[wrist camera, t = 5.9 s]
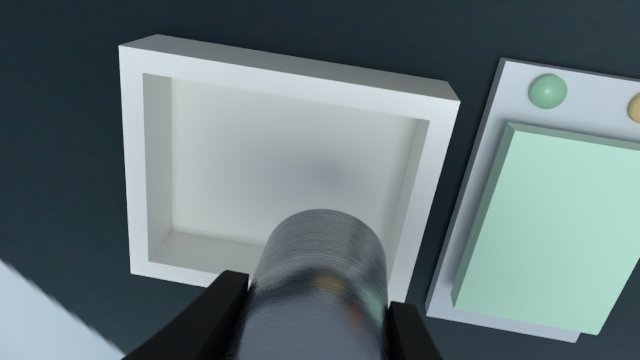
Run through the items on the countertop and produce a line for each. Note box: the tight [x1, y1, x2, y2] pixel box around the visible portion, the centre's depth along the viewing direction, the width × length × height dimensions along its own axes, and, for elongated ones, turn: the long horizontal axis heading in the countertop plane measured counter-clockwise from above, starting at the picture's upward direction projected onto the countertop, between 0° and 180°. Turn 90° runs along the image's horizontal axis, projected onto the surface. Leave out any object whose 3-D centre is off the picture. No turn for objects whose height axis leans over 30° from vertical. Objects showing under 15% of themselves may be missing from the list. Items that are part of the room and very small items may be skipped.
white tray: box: [119, 34, 460, 309], centre depth 18 cm, size 10×12×3 cm
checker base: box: [425, 57, 640, 343], centre depth 19 cm, size 12×7×1 cm, turn 172°
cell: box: [221, 209, 391, 360], centre depth 10 cm, size 4×4×6 cm
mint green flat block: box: [450, 122, 640, 335], centre depth 18 cm, size 8×6×1 cm
